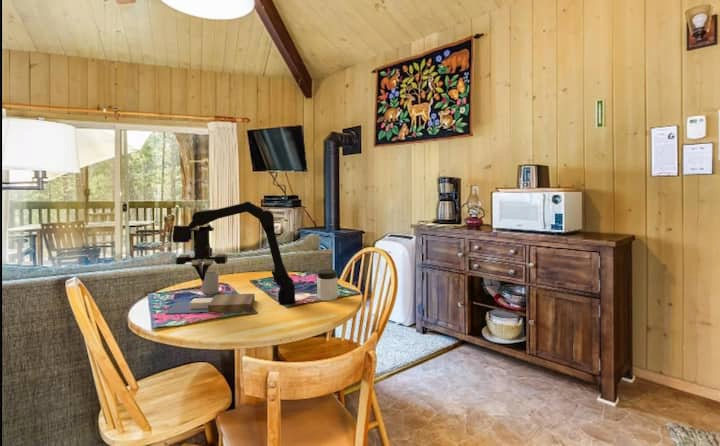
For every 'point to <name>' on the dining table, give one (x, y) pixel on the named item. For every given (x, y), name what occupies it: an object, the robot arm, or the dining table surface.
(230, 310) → the cutting board
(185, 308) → the felt mat
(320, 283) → the jar
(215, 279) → the cup
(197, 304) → the beige flat block
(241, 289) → the dining table surface
